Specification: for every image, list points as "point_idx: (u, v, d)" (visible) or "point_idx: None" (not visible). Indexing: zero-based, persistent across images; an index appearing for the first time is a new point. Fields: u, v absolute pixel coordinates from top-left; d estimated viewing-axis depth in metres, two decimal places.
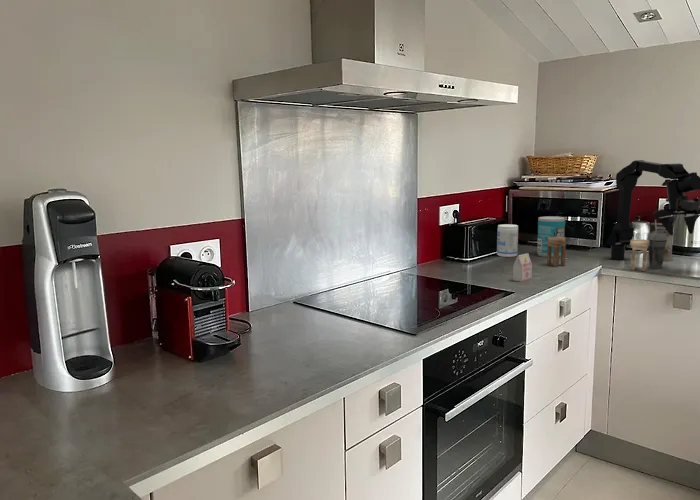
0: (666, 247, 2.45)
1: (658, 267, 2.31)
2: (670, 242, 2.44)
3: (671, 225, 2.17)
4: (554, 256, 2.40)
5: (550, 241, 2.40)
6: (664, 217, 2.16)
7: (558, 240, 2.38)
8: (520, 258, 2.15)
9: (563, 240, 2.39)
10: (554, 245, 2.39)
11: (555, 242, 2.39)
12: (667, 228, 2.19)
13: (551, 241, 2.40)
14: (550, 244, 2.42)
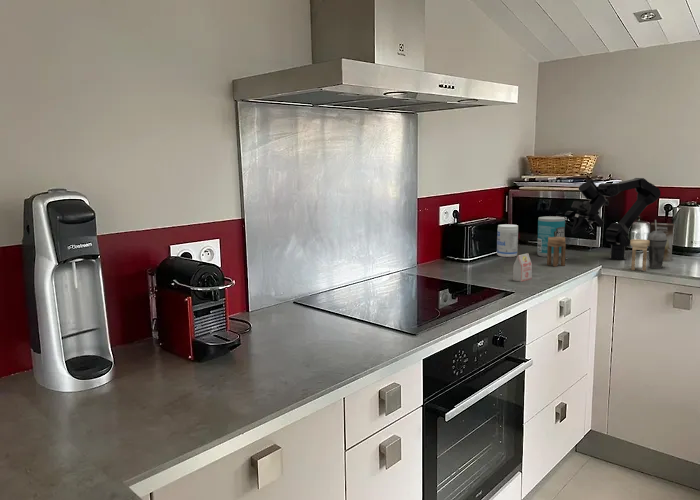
0: (666, 247, 2.45)
1: (658, 267, 2.31)
2: (670, 242, 2.44)
3: (574, 225, 2.45)
4: (554, 256, 2.40)
5: (550, 241, 2.40)
6: None
7: (558, 240, 2.38)
8: (520, 258, 2.15)
9: (563, 240, 2.39)
10: (554, 245, 2.39)
11: (555, 242, 2.39)
12: None
13: (551, 241, 2.40)
14: (550, 244, 2.42)
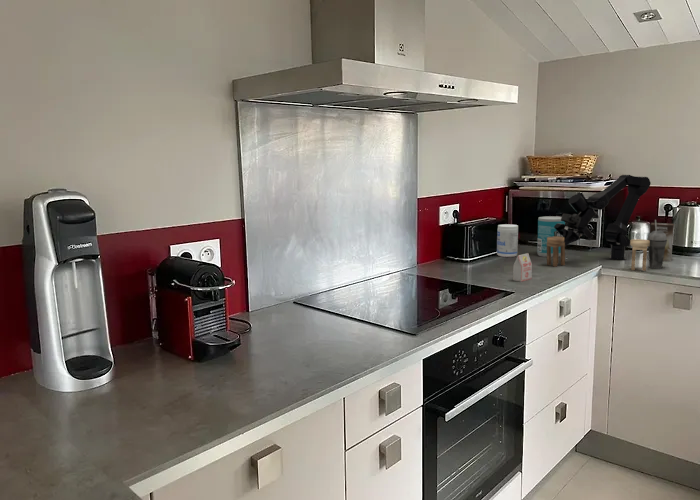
0: (666, 247, 2.45)
1: (658, 267, 2.31)
2: (670, 242, 2.44)
3: None
4: (554, 256, 2.40)
5: (549, 241, 2.40)
6: None
7: (557, 240, 2.38)
8: (520, 258, 2.15)
9: (562, 240, 2.39)
10: (554, 245, 2.39)
11: (554, 242, 2.39)
12: None
13: (550, 241, 2.40)
14: (549, 244, 2.42)
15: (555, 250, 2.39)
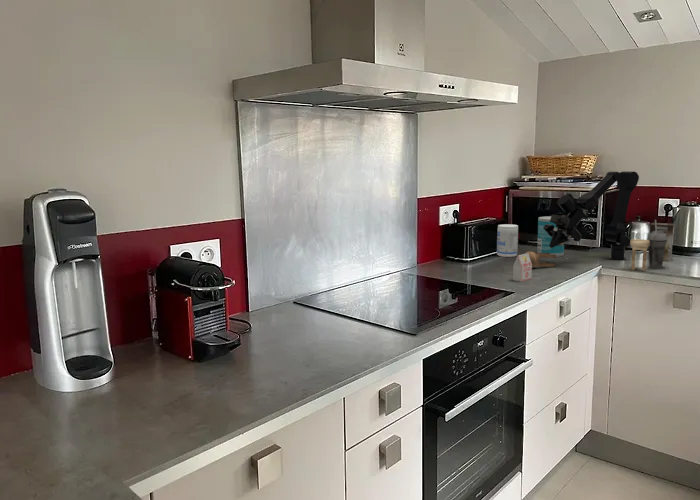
0: (666, 247, 2.45)
1: (658, 267, 2.31)
2: (670, 242, 2.44)
3: (552, 238, 2.42)
4: (545, 266, 2.39)
5: None
6: None
7: (533, 264, 2.36)
8: (520, 258, 2.15)
9: (534, 259, 2.35)
10: (536, 266, 2.38)
11: (534, 266, 2.37)
12: None
13: None
14: None
15: (541, 265, 2.38)
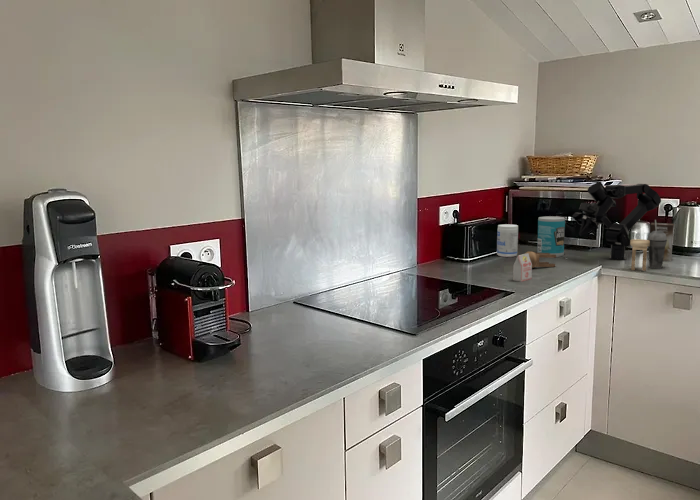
0: (666, 247, 2.45)
1: (658, 267, 2.31)
2: (670, 242, 2.44)
3: (581, 226, 2.45)
4: (545, 266, 2.39)
5: None
6: None
7: (533, 264, 2.36)
8: (520, 258, 2.15)
9: (534, 259, 2.35)
10: (536, 266, 2.38)
11: (534, 266, 2.37)
12: None
13: None
14: None
15: (541, 265, 2.38)
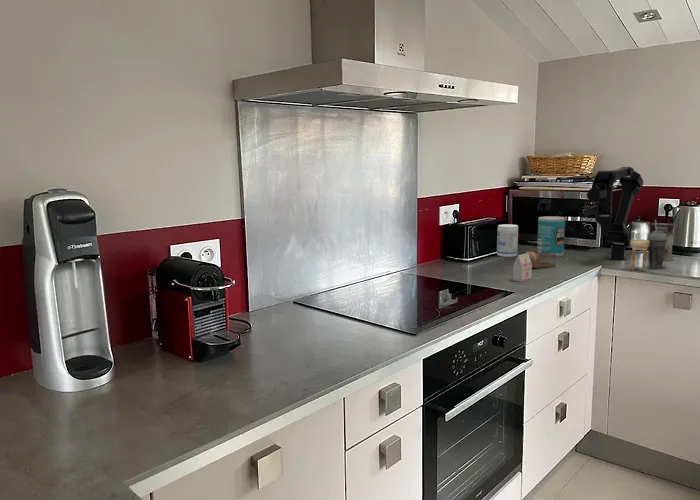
0: (666, 247, 2.45)
1: (658, 267, 2.31)
2: (670, 242, 2.44)
3: None
4: (545, 266, 2.39)
5: None
6: None
7: (533, 264, 2.36)
8: (520, 258, 2.15)
9: (534, 259, 2.35)
10: (536, 266, 2.38)
11: (534, 266, 2.37)
12: None
13: None
14: None
15: (541, 265, 2.38)
